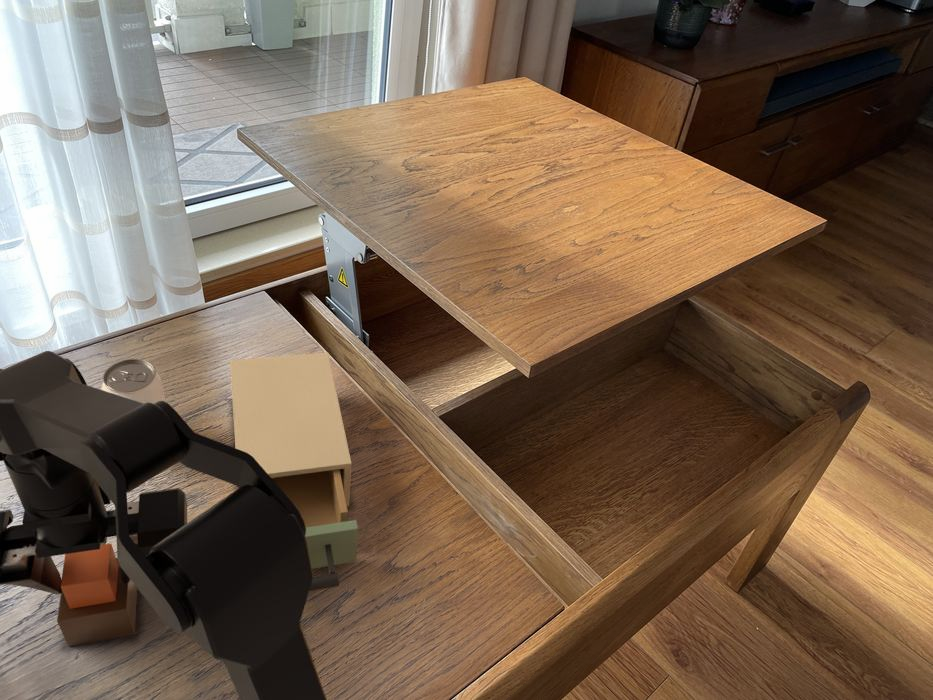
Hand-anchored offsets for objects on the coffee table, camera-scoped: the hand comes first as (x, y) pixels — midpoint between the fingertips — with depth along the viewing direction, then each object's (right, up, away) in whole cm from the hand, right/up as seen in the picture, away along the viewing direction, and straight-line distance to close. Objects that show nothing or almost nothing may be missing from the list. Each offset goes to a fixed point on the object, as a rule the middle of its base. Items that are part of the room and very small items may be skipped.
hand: (94, 584), depth 70 cm
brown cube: (-1, -4, +4) cm, 6 cm away
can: (-4, +11, +21) cm, 24 cm away
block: (0, 0, 0) cm, 0 cm away
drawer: (+17, +3, +14) cm, 22 cm away
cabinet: (+13, +10, +23) cm, 28 cm away
